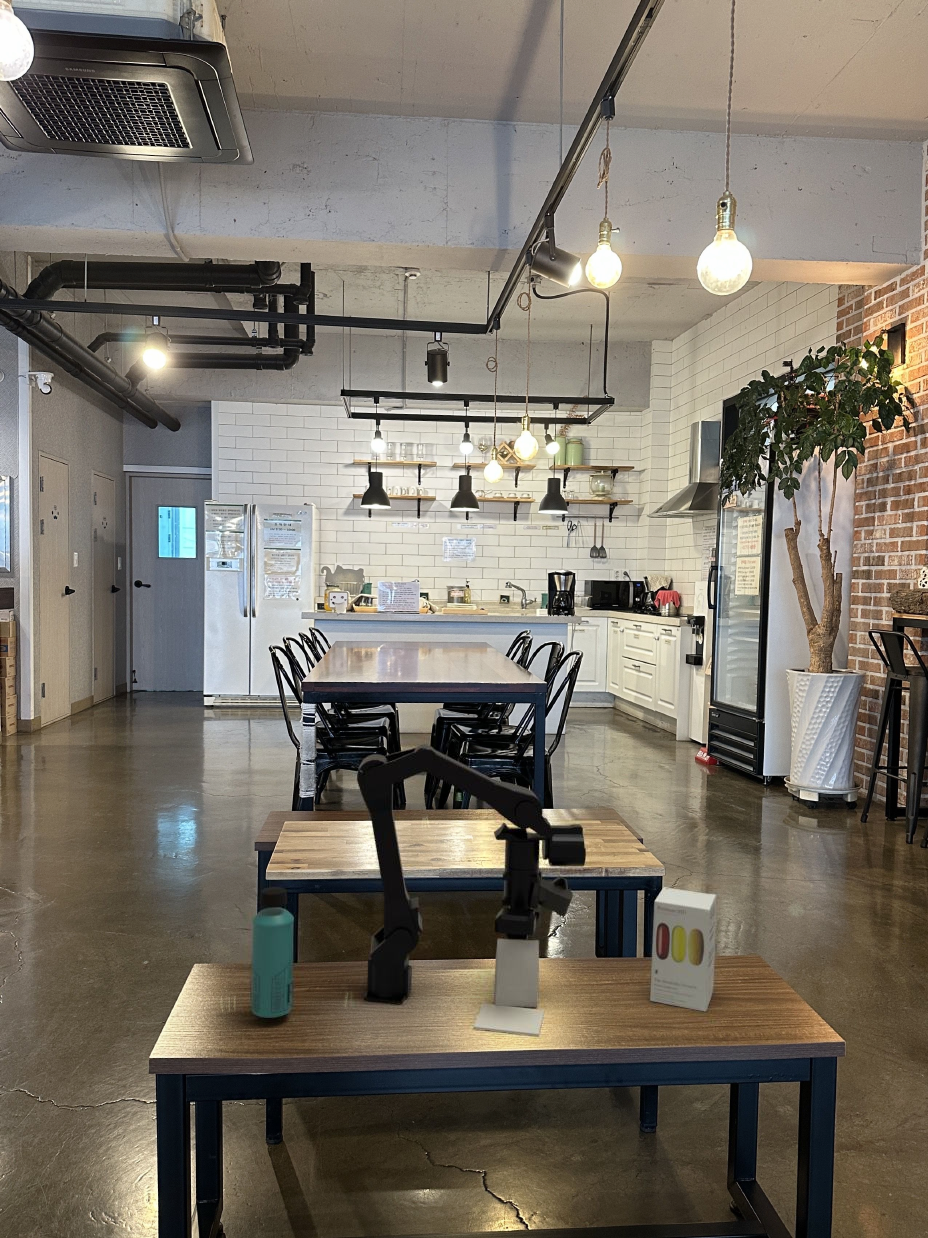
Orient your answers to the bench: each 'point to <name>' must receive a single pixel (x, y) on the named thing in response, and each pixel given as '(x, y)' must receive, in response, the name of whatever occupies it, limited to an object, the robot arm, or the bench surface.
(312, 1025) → the bench surface
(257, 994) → the beverage bottle
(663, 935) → the supplement box
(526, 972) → the white printed box
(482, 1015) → the mat
